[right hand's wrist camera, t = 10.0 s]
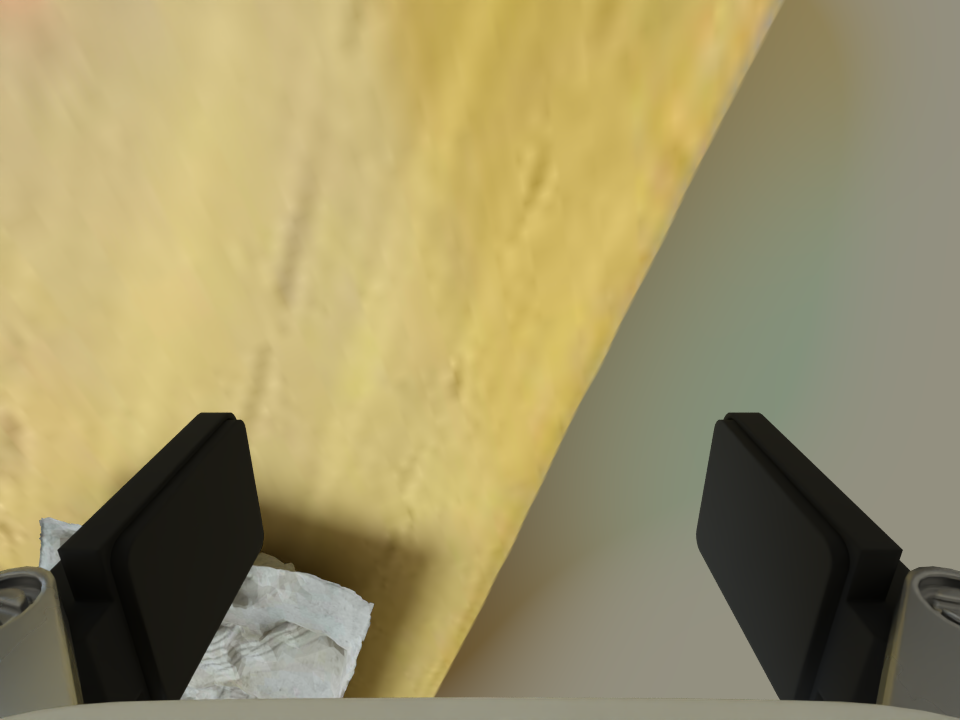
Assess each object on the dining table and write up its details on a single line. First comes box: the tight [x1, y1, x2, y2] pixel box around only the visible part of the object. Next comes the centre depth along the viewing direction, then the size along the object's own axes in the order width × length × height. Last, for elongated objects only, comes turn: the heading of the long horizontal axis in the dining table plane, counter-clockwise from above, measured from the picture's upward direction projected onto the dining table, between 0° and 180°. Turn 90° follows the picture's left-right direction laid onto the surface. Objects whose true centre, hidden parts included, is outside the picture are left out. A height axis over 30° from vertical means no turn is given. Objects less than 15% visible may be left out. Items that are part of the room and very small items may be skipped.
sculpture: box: [39, 517, 374, 700], centre depth 55 cm, size 38×6×30 cm
